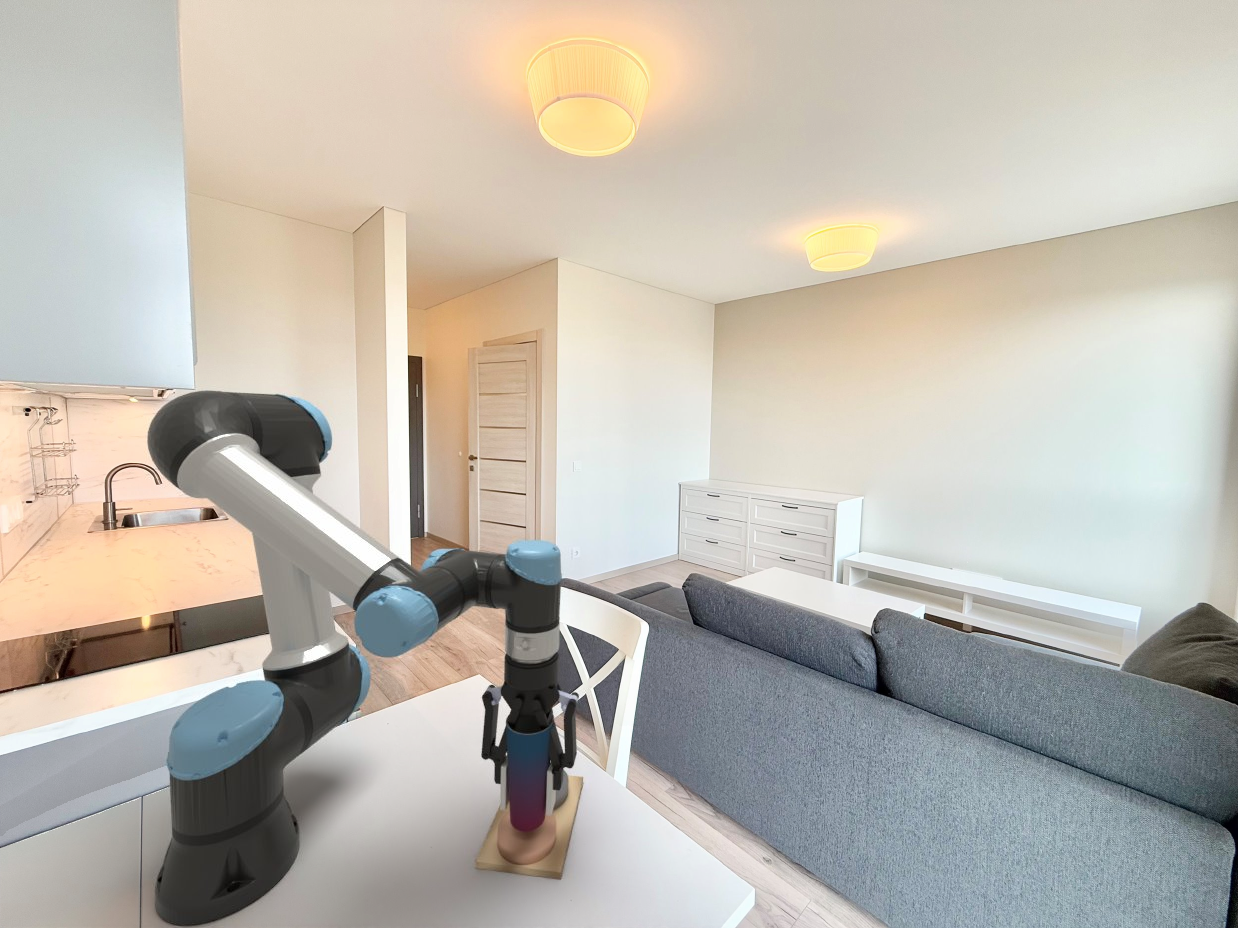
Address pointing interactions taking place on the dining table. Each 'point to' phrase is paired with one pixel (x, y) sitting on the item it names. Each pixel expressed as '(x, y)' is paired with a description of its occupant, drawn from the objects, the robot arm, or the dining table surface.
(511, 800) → the cup
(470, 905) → the dining table surface
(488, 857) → the stand board
